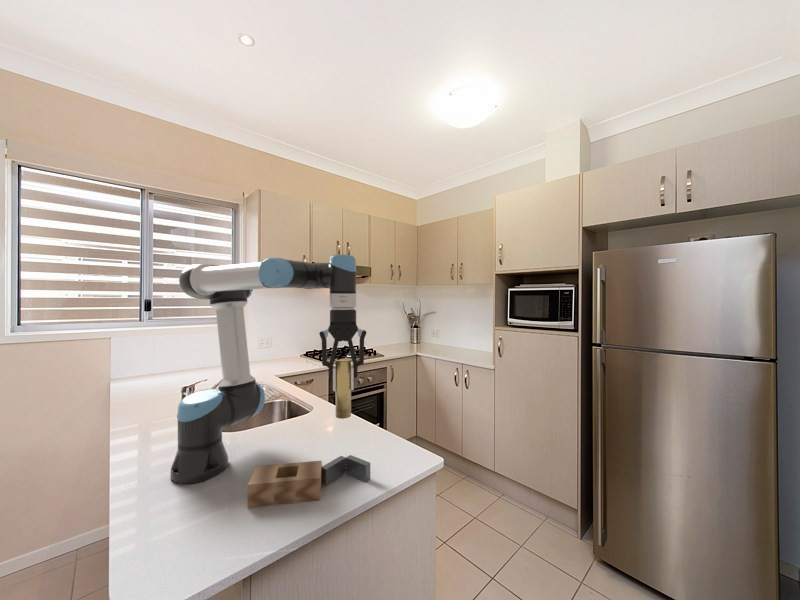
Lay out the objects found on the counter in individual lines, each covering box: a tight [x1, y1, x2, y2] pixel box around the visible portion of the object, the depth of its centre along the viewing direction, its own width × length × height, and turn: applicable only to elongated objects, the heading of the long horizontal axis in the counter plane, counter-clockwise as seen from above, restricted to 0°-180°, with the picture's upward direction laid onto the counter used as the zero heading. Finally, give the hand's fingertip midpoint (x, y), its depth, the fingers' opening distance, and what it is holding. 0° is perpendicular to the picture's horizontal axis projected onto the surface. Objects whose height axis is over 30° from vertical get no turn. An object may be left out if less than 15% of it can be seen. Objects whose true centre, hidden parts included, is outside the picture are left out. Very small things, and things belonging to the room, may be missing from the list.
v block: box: [321, 454, 371, 487], centre depth 96 cm, size 14×7×5 cm, turn 101°
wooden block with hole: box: [246, 460, 323, 509], centre depth 88 cm, size 18×9×6 cm, turn 101°
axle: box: [334, 358, 352, 420], centre depth 93 cm, size 4×4×16 cm
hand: (343, 389), depth 93 cm, fingers closed on axle, 4 cm apart
